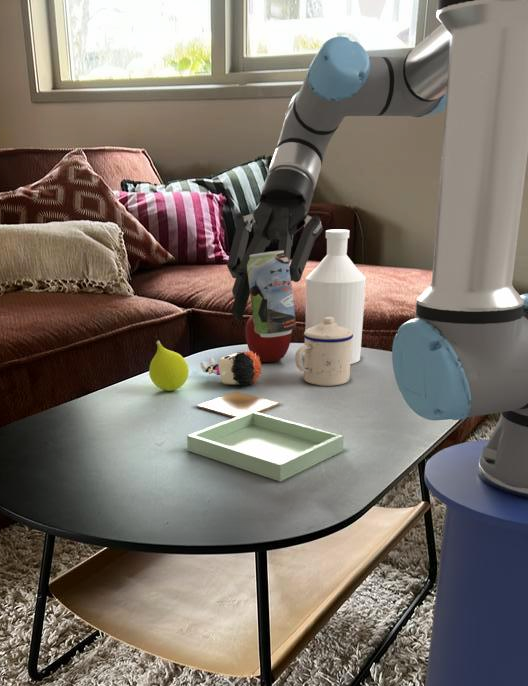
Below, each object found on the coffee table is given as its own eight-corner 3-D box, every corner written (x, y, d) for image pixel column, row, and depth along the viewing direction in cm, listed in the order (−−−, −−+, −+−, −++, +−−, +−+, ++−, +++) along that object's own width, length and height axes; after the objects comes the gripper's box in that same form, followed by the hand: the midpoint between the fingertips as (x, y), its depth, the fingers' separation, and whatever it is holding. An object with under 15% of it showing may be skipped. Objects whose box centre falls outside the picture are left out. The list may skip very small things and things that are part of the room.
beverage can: (285, 343, 108) (287, 255, 103) (239, 338, 111) (238, 252, 106) (302, 333, 113) (304, 249, 108) (257, 329, 116) (257, 246, 111)
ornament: (148, 386, 142) (144, 332, 138) (185, 382, 144) (182, 329, 139) (153, 397, 136) (149, 341, 131) (192, 393, 137) (190, 338, 133)
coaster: (279, 404, 131) (279, 402, 131) (240, 419, 124) (240, 417, 124) (236, 393, 137) (236, 391, 137) (197, 407, 130) (197, 405, 130)
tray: (343, 450, 111) (343, 435, 110) (280, 481, 102) (280, 465, 101) (252, 425, 122) (252, 410, 121) (187, 450, 112) (186, 435, 111)
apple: (288, 354, 162) (289, 306, 157) (294, 366, 153) (295, 316, 149) (244, 355, 161) (243, 307, 157) (247, 367, 153) (246, 317, 148)
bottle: (354, 350, 164) (361, 226, 153) (367, 364, 153) (375, 233, 142) (300, 352, 163) (302, 228, 152) (308, 366, 153) (312, 234, 142)
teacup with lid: (328, 370, 150) (331, 310, 145) (360, 381, 143) (364, 318, 138) (280, 381, 144) (281, 318, 139) (311, 392, 137) (313, 327, 132)
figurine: (217, 348, 148) (265, 347, 140) (222, 380, 150) (269, 380, 143) (191, 356, 143) (239, 355, 135) (196, 388, 145) (244, 389, 138)
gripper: (347, 203, 115) (309, 337, 109) (246, 200, 121) (205, 328, 115) (339, 165, 108) (298, 306, 102) (232, 165, 114) (188, 298, 108)
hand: (249, 317), depth 108 cm, fingers closed on beverage can, 3 cm apart
